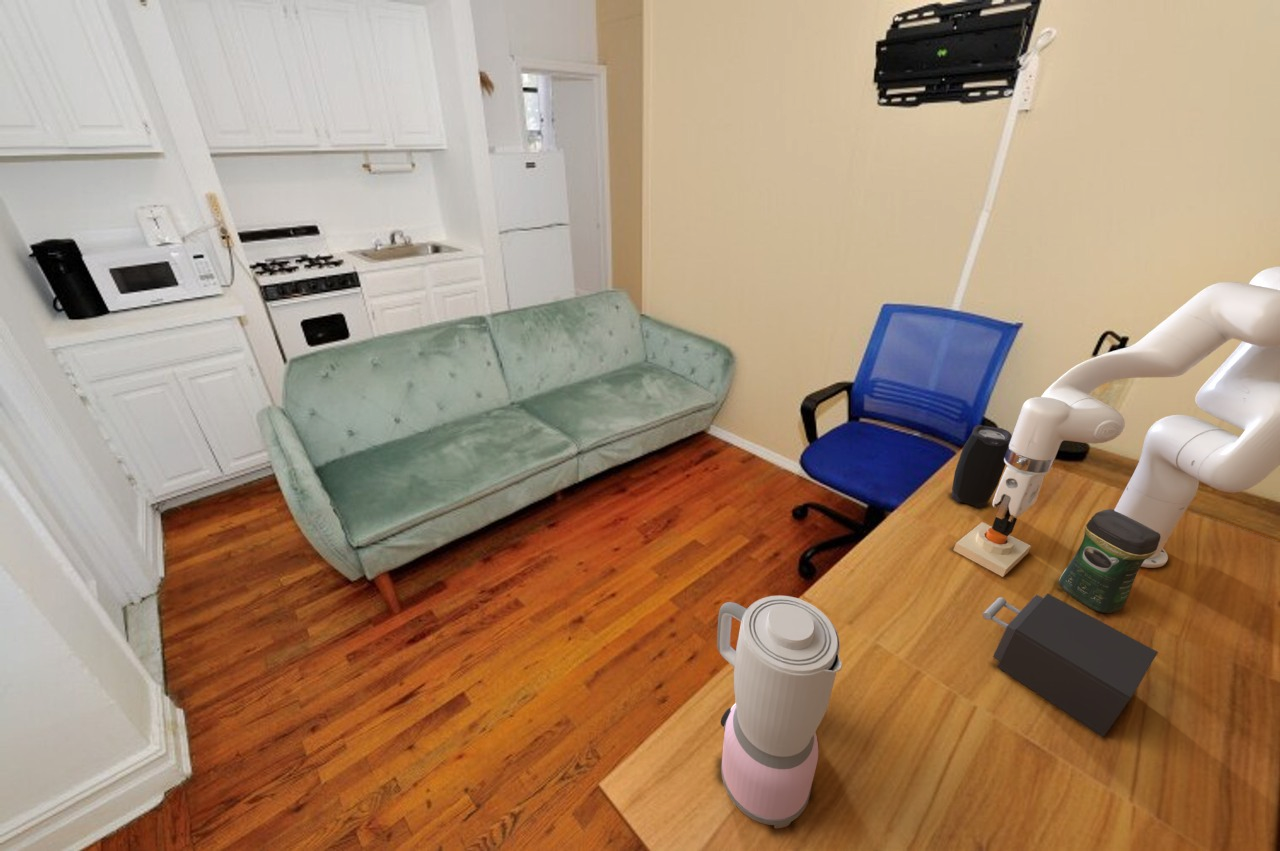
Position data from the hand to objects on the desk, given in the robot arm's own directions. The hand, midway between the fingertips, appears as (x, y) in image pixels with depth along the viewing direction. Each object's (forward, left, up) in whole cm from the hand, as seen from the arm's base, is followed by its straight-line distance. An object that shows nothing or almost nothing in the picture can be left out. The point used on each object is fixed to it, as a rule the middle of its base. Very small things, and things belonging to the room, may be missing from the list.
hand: (1001, 531), depth 108 cm
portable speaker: (-16, -12, -6) cm, 21 cm away
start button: (0, 0, -2) cm, 2 cm away
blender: (+75, +1, -6) cm, 76 cm away
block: (0, 0, -6) cm, 6 cm away
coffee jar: (-2, +17, -6) cm, 18 cm away
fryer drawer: (+23, +17, -5) cm, 29 cm away
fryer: (+23, +21, -6) cm, 32 cm away
